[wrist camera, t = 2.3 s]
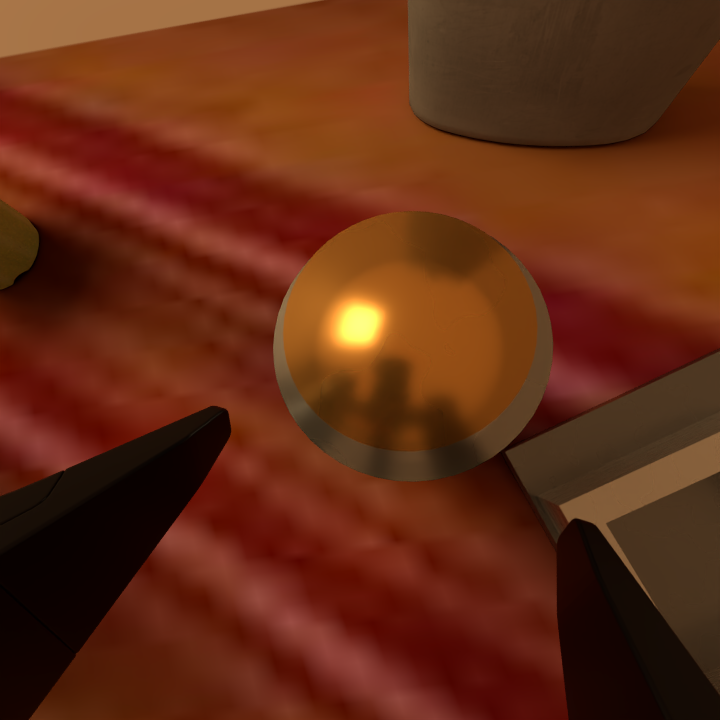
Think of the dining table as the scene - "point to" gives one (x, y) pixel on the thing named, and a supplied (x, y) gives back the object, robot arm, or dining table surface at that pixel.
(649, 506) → the dock
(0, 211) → the plant pot
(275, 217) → the dining table surface
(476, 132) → the flask
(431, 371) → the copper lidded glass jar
